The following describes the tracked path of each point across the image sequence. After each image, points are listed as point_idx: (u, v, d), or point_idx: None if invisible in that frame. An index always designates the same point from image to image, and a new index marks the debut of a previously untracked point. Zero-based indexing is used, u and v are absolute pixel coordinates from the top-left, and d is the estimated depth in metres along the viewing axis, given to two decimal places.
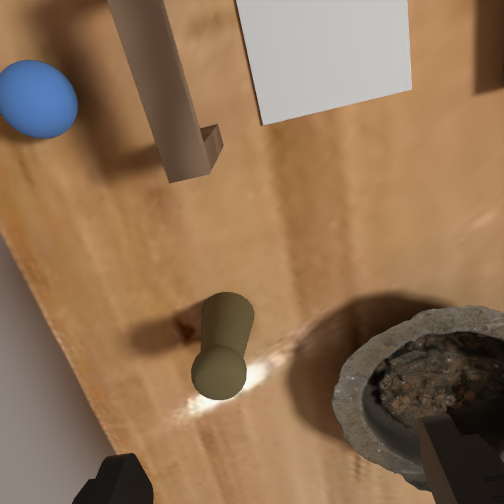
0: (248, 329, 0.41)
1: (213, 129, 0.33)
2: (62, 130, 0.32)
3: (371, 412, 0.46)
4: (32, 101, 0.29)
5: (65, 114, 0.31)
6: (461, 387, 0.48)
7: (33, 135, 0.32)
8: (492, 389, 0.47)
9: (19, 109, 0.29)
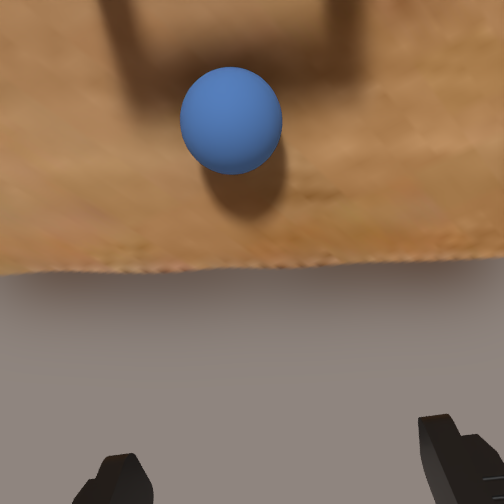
0: None
1: None
2: (274, 96, 0.22)
3: None
4: (225, 108, 0.20)
5: (252, 78, 0.21)
6: None
7: (273, 136, 0.22)
8: None
9: (234, 130, 0.20)
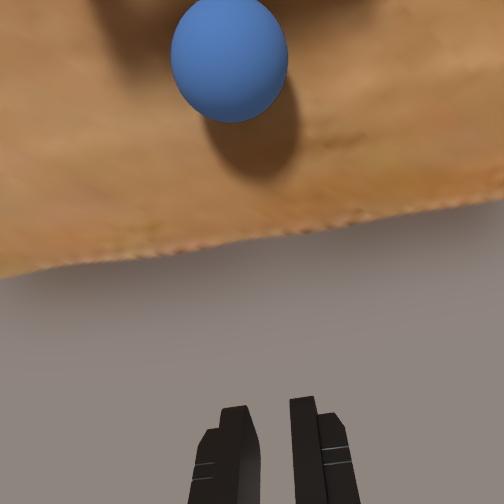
0: None
1: None
2: (274, 19, 0.19)
3: None
4: (218, 34, 0.17)
5: None
6: None
7: (279, 66, 0.19)
8: None
9: (231, 60, 0.17)
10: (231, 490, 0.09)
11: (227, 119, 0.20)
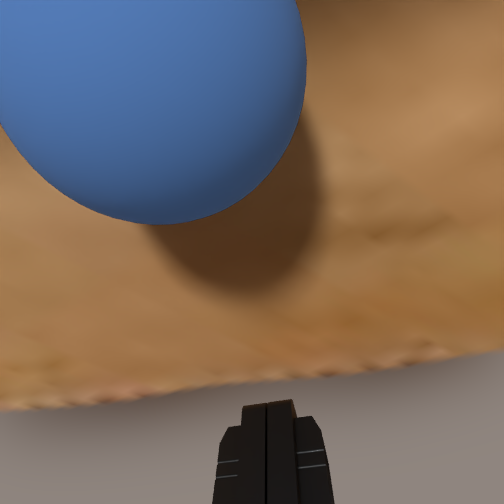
0: None
1: None
2: None
3: None
4: None
5: None
6: None
7: (284, 92, 0.06)
8: None
9: (126, 77, 0.05)
10: (257, 488, 0.09)
11: (150, 223, 0.08)
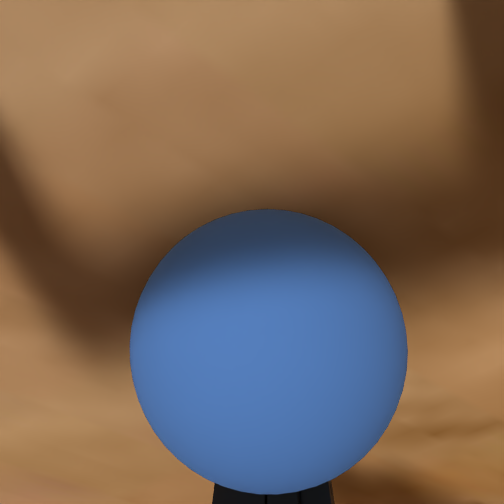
0: None
1: None
2: (370, 256, 0.08)
3: None
4: (237, 297, 0.06)
5: (305, 218, 0.08)
6: None
7: (398, 363, 0.07)
8: None
9: (274, 363, 0.06)
10: None
11: (260, 493, 0.07)
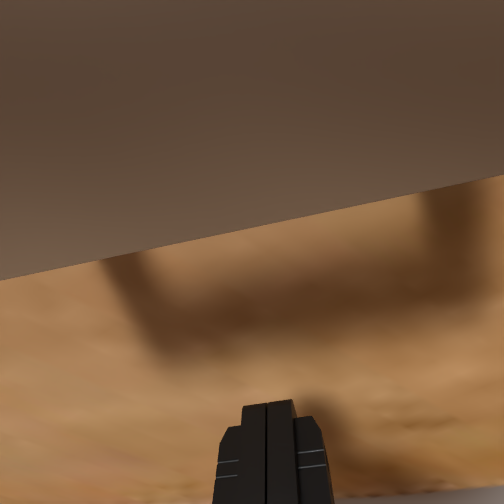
0: None
1: None
2: None
3: None
4: None
5: None
6: None
7: None
8: None
9: None
10: (257, 488, 0.09)
11: None
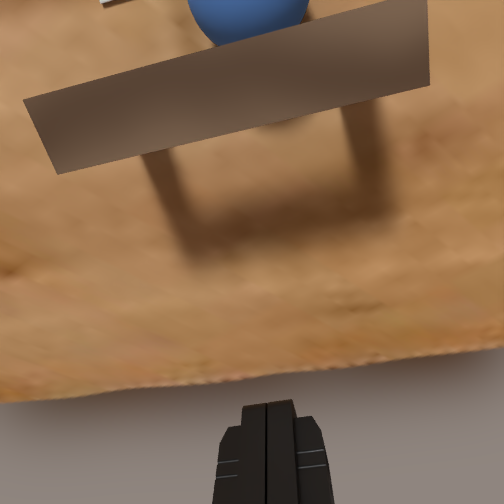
0: None
1: None
2: None
3: None
4: None
5: None
6: None
7: (303, 15, 0.19)
8: None
9: None
10: (257, 488, 0.09)
11: None
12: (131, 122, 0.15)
